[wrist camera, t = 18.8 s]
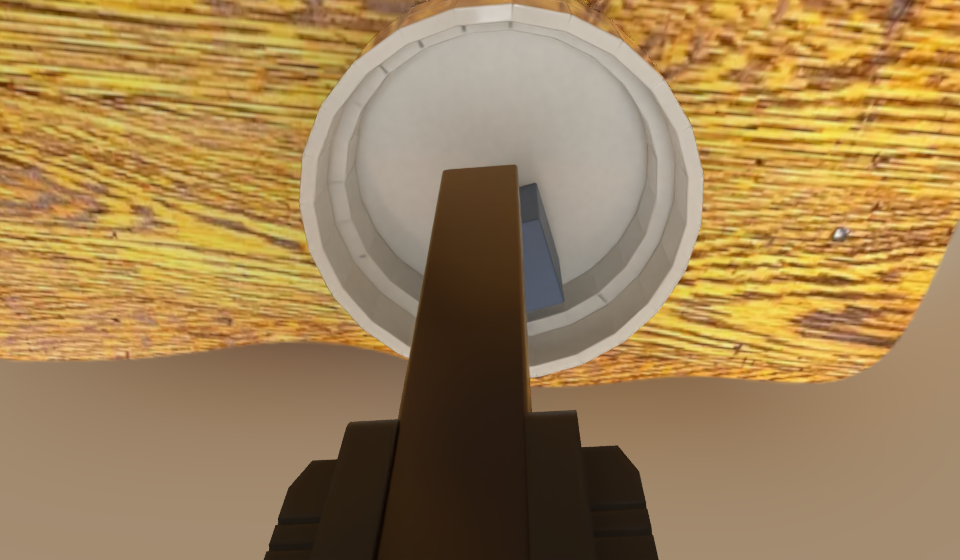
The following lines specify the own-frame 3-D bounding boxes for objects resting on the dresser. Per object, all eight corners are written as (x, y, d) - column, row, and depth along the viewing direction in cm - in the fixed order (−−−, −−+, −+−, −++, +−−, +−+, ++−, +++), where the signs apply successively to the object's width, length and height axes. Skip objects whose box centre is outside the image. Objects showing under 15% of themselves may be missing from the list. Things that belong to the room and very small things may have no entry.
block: (476, 281, 36) (473, 326, 33) (450, 205, 34) (443, 244, 31) (559, 260, 35) (565, 303, 32) (536, 181, 34) (539, 218, 30)
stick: (450, 236, 19) (361, 916, 7) (442, 168, 18) (324, 811, 6) (522, 231, 19) (557, 912, 7) (517, 162, 18) (548, 808, 6)
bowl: (359, 322, 38) (337, 388, 33) (298, 0, 31) (260, 24, 26) (670, 304, 37) (694, 369, 32) (680, -34, 30) (714, -15, 25)
